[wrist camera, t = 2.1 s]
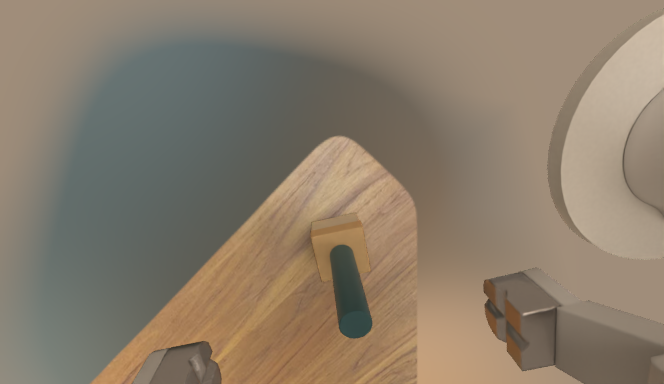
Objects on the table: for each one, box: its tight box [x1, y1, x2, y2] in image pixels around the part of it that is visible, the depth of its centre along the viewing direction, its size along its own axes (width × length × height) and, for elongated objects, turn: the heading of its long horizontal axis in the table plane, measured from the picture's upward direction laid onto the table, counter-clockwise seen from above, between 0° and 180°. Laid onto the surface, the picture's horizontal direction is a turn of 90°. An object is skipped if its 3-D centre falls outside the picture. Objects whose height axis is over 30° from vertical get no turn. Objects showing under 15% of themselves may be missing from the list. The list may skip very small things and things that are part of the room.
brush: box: [311, 213, 372, 338], centre depth 30 cm, size 5×5×14 cm
